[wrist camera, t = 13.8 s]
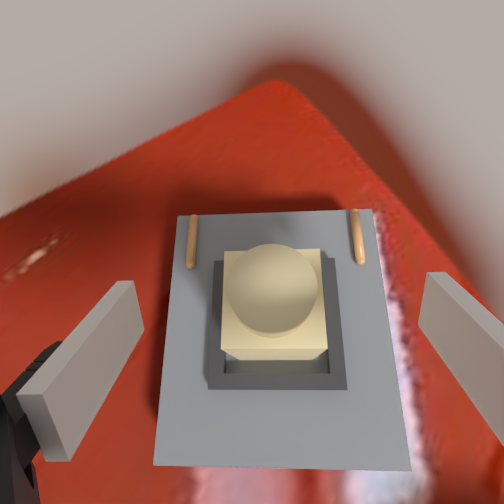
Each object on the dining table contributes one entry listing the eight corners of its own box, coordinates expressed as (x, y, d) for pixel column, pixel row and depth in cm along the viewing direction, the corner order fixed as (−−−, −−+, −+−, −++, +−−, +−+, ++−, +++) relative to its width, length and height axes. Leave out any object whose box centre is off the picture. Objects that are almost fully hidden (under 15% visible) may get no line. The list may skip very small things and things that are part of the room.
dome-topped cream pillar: (239, 360, 23) (212, 344, 14) (241, 290, 25) (217, 235, 16) (312, 360, 23) (334, 343, 13) (307, 289, 24) (324, 232, 15)
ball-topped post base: (172, 453, 25) (147, 469, 20) (189, 235, 31) (174, 210, 27) (390, 457, 23) (418, 475, 19) (360, 230, 30) (375, 202, 26)
